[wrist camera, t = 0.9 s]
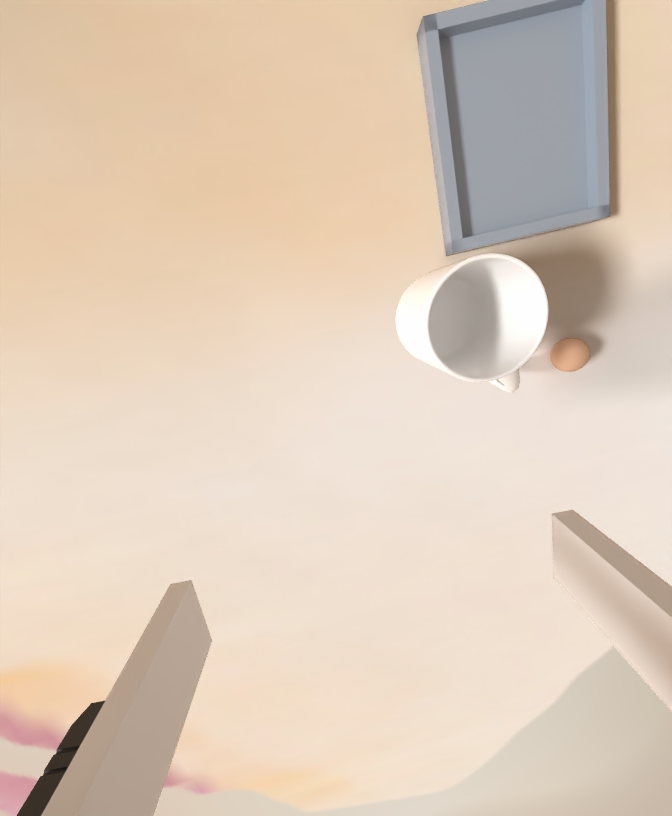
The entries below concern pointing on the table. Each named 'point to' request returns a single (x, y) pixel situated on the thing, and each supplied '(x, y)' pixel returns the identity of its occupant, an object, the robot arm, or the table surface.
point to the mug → (475, 318)
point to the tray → (517, 117)
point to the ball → (570, 354)
